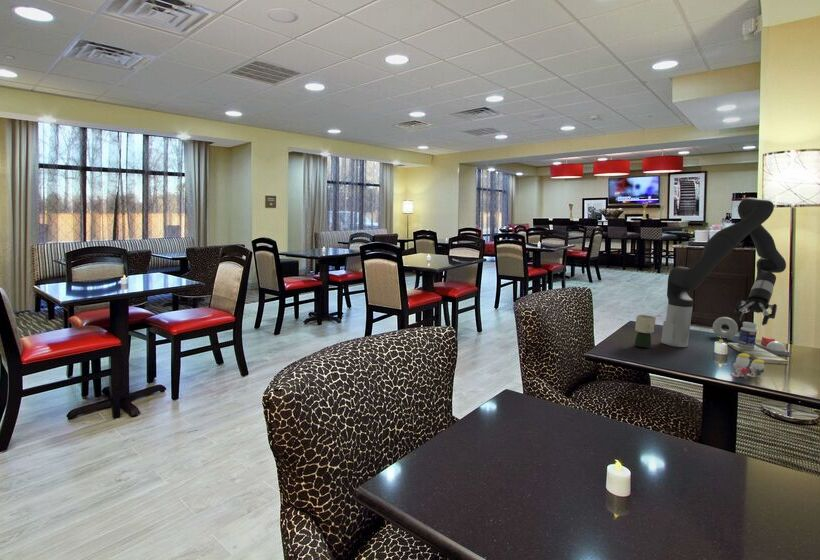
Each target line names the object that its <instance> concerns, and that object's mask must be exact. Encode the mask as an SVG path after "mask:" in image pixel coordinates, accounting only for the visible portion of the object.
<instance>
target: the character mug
mask: <svg viewBox="0 0 820 560" xmlns="http://www.w3.org/2000/svg"><path fill="white" fill-rule="evenodd" d="M635 317H636V319H635V325H634V330H635V331H636V332H637V333H636V336H635V339H634V340H635V341H634V346H636V347H639V348H643V349H645V348H649V349H650V348H651V347H652V336H651V334H653V333H654V332H655V325H656V317H655V316H652V315H648V314H636V316H635Z"/></svg>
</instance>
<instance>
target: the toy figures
mask: <svg viewBox="0 0 820 560" xmlns="http://www.w3.org/2000/svg"><path fill="white" fill-rule="evenodd" d="M750 358H751V357H750V356H749V355H748V354H745V353H741V352H740V353H739V354H735V355H734V359H735V362H733V365H732V366H733V371H735V372H732V373H730V376H731V377H736V378H740V377H741V378H743V377H744V375H746V376H748V377H753V378H756V376H757V378H758V377H760V376H761V374H763V373H764V369H765V364H766V363H765V362H764V361H763V360H759V359H752V360H751V359H750ZM749 365H750V366H749ZM748 366H749V367H748ZM748 372H749V373H748Z"/></svg>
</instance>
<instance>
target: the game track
mask: <svg viewBox="0 0 820 560" xmlns="http://www.w3.org/2000/svg"><path fill="white" fill-rule="evenodd" d="M728 345H729V346H728ZM727 346H728V347H730V348H732V349H733V350H735V351H738V352H739V353H740V354H741V353H745V354H748V355H749V356H750V357H749V358H751V359H752V360H755V359H759V360H763V361H764V362H765V363H764V364H778V363H781V364H780V365H788V364H789V360H787V359H784V358H782V357H780V356H779V355H774V354H772V353H770V352H768V351H766V350H764V349H761V348H759V347H757V346H755V345H754V347H744V346H740V345H739V344H738V342H727Z"/></svg>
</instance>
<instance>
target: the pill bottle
mask: <svg viewBox="0 0 820 560" xmlns="http://www.w3.org/2000/svg"><path fill="white" fill-rule="evenodd" d="M756 327H757V323H755V322H751V321H743V322H742V327H740V330H739V335H738V340H737V341H738V342H737V343H738V344H739V345H740V346H744V347H754V345H755V343H756V338H757V332H758V330H757V328H756Z"/></svg>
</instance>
